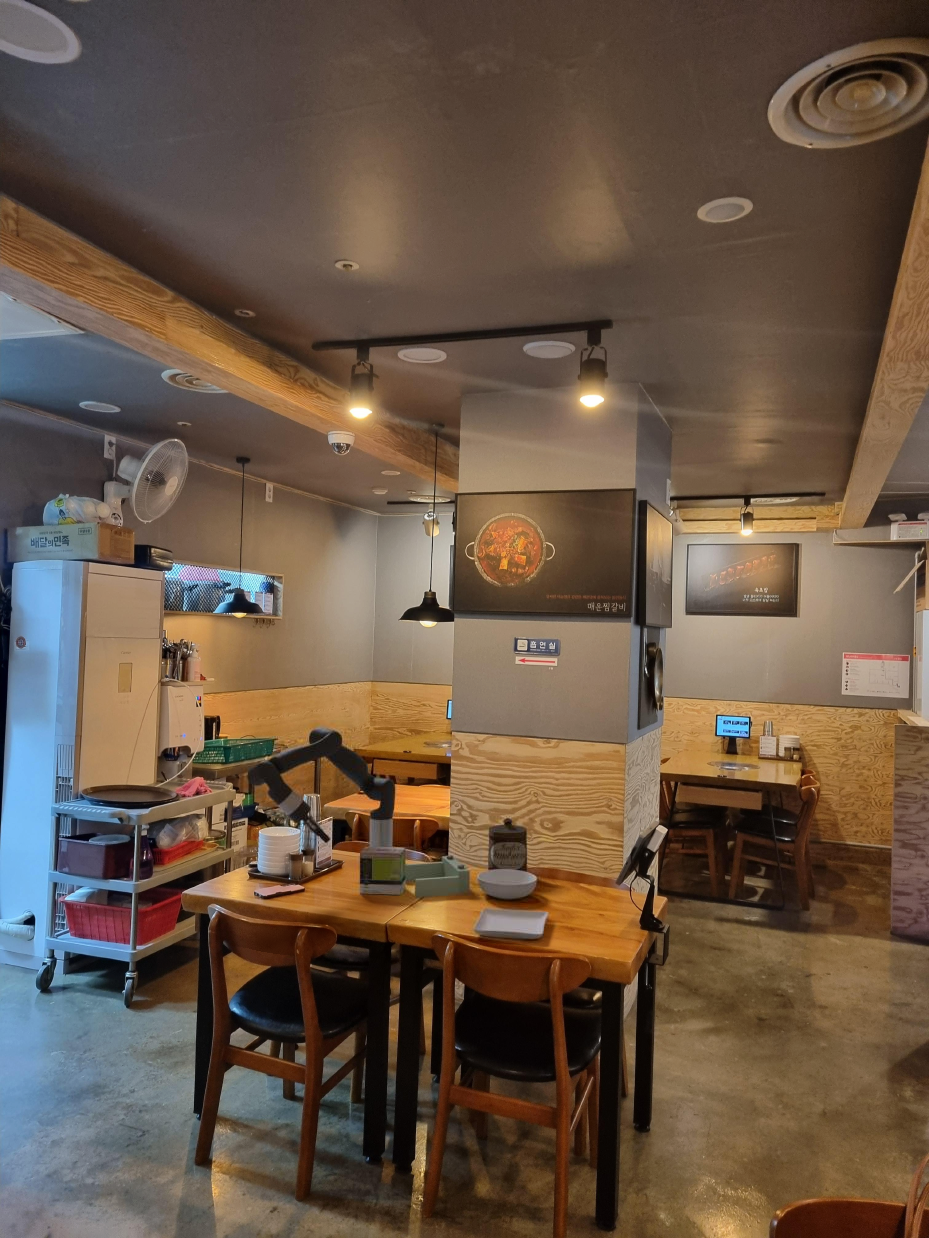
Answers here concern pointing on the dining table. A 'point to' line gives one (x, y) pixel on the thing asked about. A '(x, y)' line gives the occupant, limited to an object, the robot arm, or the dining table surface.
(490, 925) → the salad plate
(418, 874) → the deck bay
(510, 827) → the wooden container
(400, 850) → the tea box
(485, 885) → the serving bowl
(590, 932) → the dining table surface
